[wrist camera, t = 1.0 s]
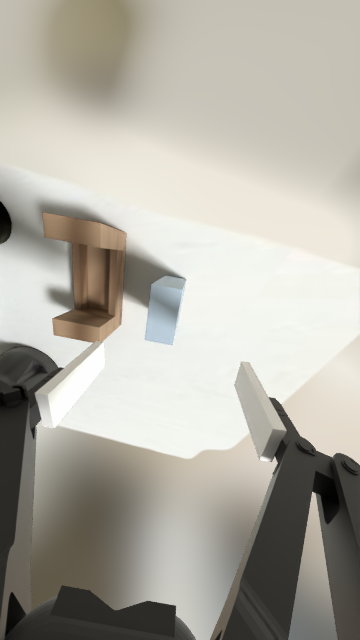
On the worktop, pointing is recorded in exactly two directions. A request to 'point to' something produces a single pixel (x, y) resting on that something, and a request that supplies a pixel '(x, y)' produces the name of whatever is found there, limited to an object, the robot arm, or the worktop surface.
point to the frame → (91, 277)
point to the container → (4, 224)
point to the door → (164, 309)
